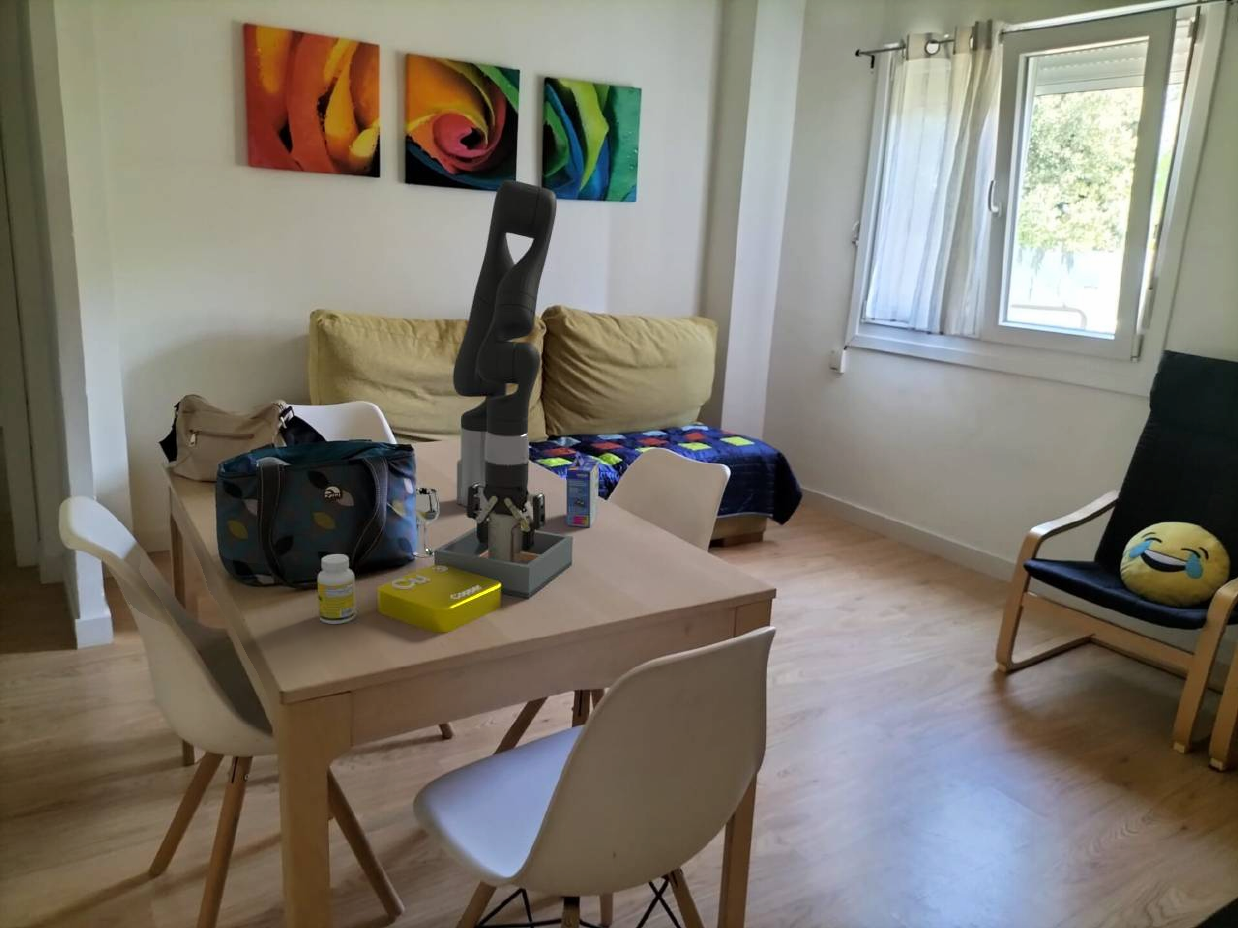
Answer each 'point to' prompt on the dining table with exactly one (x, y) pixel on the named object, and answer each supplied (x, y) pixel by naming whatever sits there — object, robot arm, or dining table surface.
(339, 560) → the supplement bottle
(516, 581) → the box
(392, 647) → the dining table surface
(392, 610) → the element tile
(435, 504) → the wineglass
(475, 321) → the robot arm
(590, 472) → the ink cartridge box
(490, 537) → the skincare box
